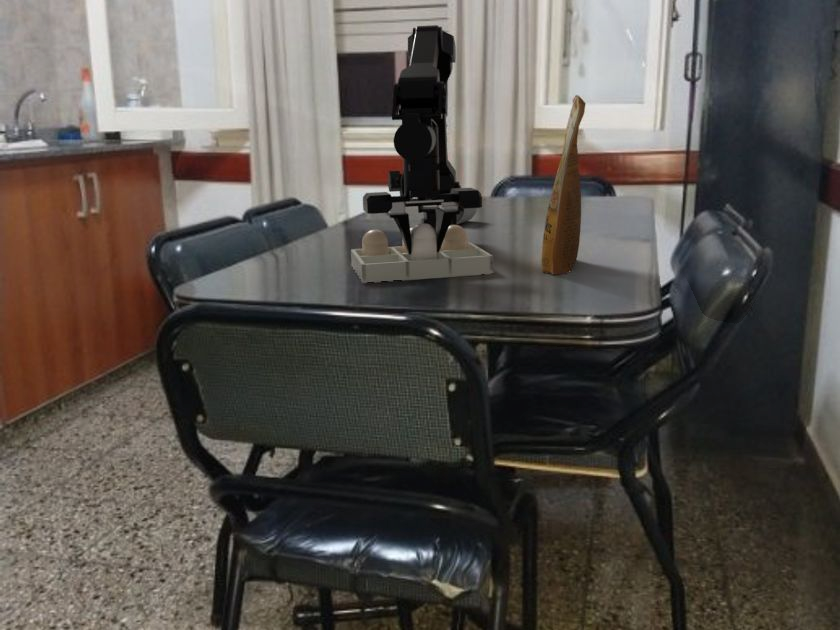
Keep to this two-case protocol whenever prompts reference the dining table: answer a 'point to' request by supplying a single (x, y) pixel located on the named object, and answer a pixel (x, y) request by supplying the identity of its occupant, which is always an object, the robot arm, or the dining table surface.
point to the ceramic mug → (465, 215)
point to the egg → (423, 242)
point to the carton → (396, 264)
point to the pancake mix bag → (565, 203)
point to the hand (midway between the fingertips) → (423, 253)
